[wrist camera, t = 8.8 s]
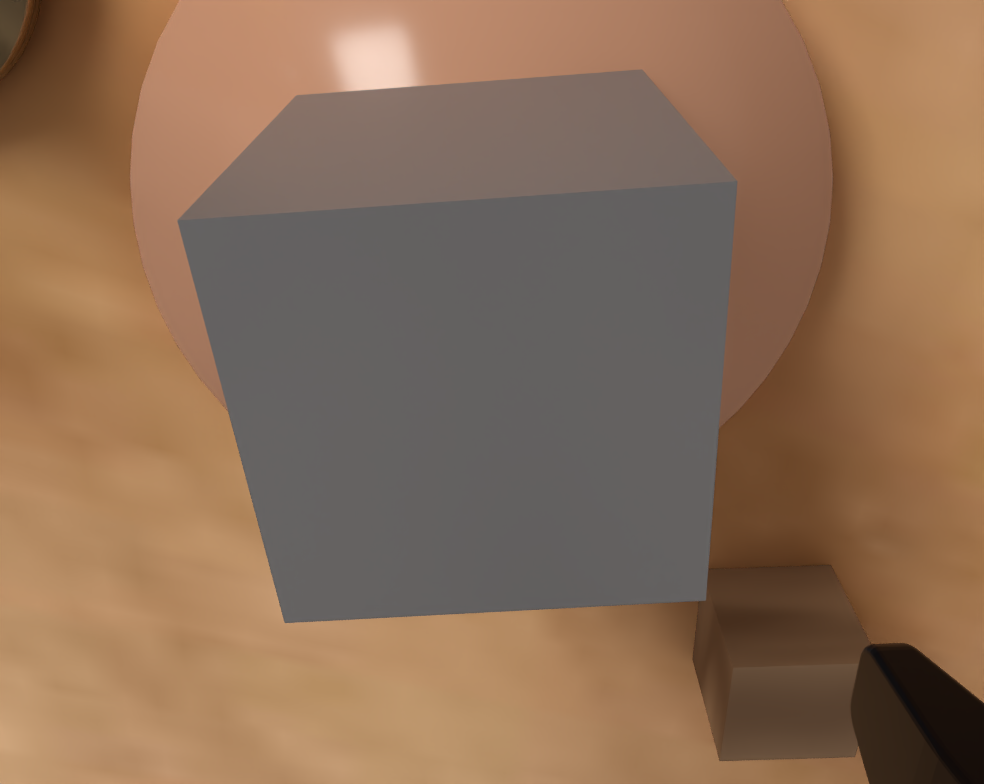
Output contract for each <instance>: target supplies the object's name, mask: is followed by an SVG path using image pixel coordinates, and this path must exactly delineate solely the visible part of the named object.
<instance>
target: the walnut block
mask: <svg viewBox="0 0 984 784" xmlns="http://www.w3.org/2000/svg"><path fill="white" fill-rule="evenodd" d="M868 645H871V643H870V641H869V639H868V637H867V635H866V633H865V632H864V630H863V628H862V626H861V624H860V622H859V620H858V618H857V616H856V614H855V612H854V610H853V608H852V606H851V604H850V602H849V600H848V598H847V596H846V594H845V592H844V590H843V588H842V586H841V584H840V582H839V580H838V578H837V576H836V574H835V572H834V570H833V568H832V566H831V565H817V566H786V567H756V568H725V569H708V579H707V592H706V601H699V605H698V614H697V623H696V632H695V642H694V651H693V662H694V666H695V670H696V674H697V678H698V681H699V685H700V689H701V693H702V696H703V700H704V704H705V708H706V712H707V715H708V719H709V723H710V727H711V730H712V734H713V738H714V742H715V745H716V749H717V753H718V757H719V761H741V760H774V759H807V758H840V757H855V755H856V751H857V747H858V743H857V739H856V736H855V732H854V729H853V725H852V720H851V711H850V703H851V697H852V692H853V688H854V683H855V678H856V674H857V669H858V665H859V660H860V656H861V653H862V651H863V649H864V648H865V647H866V646H868Z"/></svg>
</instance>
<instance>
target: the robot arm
mask: <svg viewBox="0 0 984 784" xmlns="http://www.w3.org/2000/svg"><path fill="white" fill-rule="evenodd" d="M850 711H851V720H852V725H853V729H854V732H855V736H856V739H857V743H858V746H859V750H860V753H861V757H862V760H863V764H864V767H865V770H866V774H867V777H868V781H869V784H984V703H983V702H982V701H981V700H979V699H978V698H977V697H976V696H974V695H973V694H972V693H971V692H970V691H968V690H967V689H966V688H965V687H963V686H962V685H961V684H960V683H958V682H957V681H956V680H955V679H953V678H952V677H951V676H950V675H948V674H947V673H946V672H945V671H944V670H942V669H941V668H940V667H939V666H937V665H936V664H935V663H934V662H932V661H931V660H930V659H929V658H927V657H926V656H925V655H924V654H922V653H921V652H920V651H919V650H917V649H916V648H915V647H913V646H911V645H909V644H905V643H889V644H871V645H868V646H866V647H865V648H864V649H863V651H862V653H861V656H860V660H859V665H858V669H857V674H856V678H855V683H854V688H853V692H852V697H851V703H850Z"/></svg>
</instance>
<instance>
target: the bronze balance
mask: <svg viewBox="0 0 984 784" xmlns="http://www.w3.org/2000/svg"><path fill="white" fill-rule="evenodd" d="M40 4H41V0H0V80H1V79H2V78H3V77H4V76H5V75H6V74H7V73H8V72H9V71H10V70H11V69H12V67H13V66H14V64H15V63H16V62H17V60H18V59H19V57H20V56H21V55H22V53H23V51H24V49H25V47H26V45H27V43H28V41H29V39H30V37H31V35H32V33H33V30H34V26H35V23H36V20H37V16H38V13H39V10H40Z"/></svg>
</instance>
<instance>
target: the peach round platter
mask: <svg viewBox="0 0 984 784" xmlns="http://www.w3.org/2000/svg"><path fill="white" fill-rule="evenodd" d="M641 69H642V70H643V71H644V72H645V73H646V75H647V76H648V77H649V78H650V79H651V80H652V82H653V83H654V84H655V85H656V86H657V87H658V89H659V90H660V91H661V92H662V93H663V94H664V96H665V97H666V98H667V99H668V100H669V102H670V103H671V104H672V105H673V106H674V107H675V109H676V110H677V111H678V112H679V113H680V114H681V116H682V117H683V118H684V119H685V120H686V121H687V123H688V124H689V125H690V126H691V127H692V128H693V130H694V131H695V132H696V133H697V134H698V136H699V137H700V138H701V139H702V140H703V141H704V143H705V144H706V145H707V146H708V147H709V148H710V150H711V151H712V152H713V153H714V154H715V155H716V157H717V158H718V159H719V160H720V161H721V162H722V164H723V165H724V166H725V167H726V168H727V170H728V171H729V172H730V173H731V174H732V175H733V177H734V178H735V179H736V180H737V181H738V182H737V195H736V208H735V221H734V235H733V248H732V261H731V274H730V288H729V301H728V314H727V327H726V341H725V354H724V367H723V380H722V394H721V407H720V420H719V428H720V427H721V426H722V425H723V424H724V423H725V422H726V421H727V420H728V419H729V418H731V417H732V416H733V415H734V414H735V413H736V412H737V411H738V410H739V409H740V408H741V407H742V406H743V405H744V403H745V402H746V401H747V400H748V399H749V398H750V396H751V395H752V394H753V393H754V392H755V390H756V389H757V388H758V387H759V386H760V385H761V383H762V382H763V381H764V380H765V379H766V377H767V376H768V374H769V373H770V371H771V370H772V368H773V367H774V365H775V364H776V362H777V361H778V359H779V358H780V356H781V355H782V353H783V352H784V350H785V349H786V347H787V346H788V344H789V342H790V340H791V338H792V336H793V334H794V332H795V330H796V328H797V326H798V324H799V322H800V320H801V318H802V316H803V314H804V312H805V310H806V308H807V306H808V303H809V300H810V297H811V294H812V291H813V288H814V285H815V283H816V280H817V277H818V274H819V271H820V268H821V265H822V260H823V255H824V250H825V245H826V240H827V236H828V231H829V226H830V217H831V202H832V188H833V169H832V154H831V140H830V130H829V125H828V121H827V116H826V111H825V106H824V102H823V97H822V92H821V88H820V84H819V82H818V79H817V76H816V73H815V71H814V68H813V65H812V63H811V60H810V57H809V54H808V52H807V49H806V46H805V44H804V41H803V39H802V37H801V35H800V33H799V31H798V30H797V28H796V26H795V24H794V22H793V21H792V19H791V17H790V15H789V13H788V11H787V10H786V8H785V6H784V4H783V2H782V0H179V2H178V4H177V6H176V8H175V10H174V12H173V13H172V15H171V17H170V19H169V21H168V23H167V25H166V27H165V29H164V30H163V32H162V34H161V36H160V38H159V40H158V42H157V45H156V48H155V50H154V53H153V56H152V59H151V62H150V65H149V67H148V70H147V73H146V76H145V79H144V82H143V85H142V87H141V92H140V97H139V102H138V108H137V113H136V118H135V123H134V128H133V133H132V150H131V169H130V187H131V199H132V210H133V222H134V228H135V233H136V237H137V242H138V246H139V251H140V255H141V260H142V264H143V268H144V271H145V274H146V276H147V279H148V282H149V285H150V287H151V290H152V293H153V296H154V298H155V301H156V304H157V307H158V309H159V311H160V313H161V315H162V317H163V319H164V321H165V323H166V325H167V327H168V328H169V330H170V332H171V334H172V336H173V338H174V340H175V342H176V344H177V346H178V347H179V349H180V350H181V352H182V353H183V355H184V356H185V358H186V359H187V361H188V362H189V363H190V365H191V366H192V368H193V369H194V371H195V372H196V374H197V375H198V377H199V378H200V380H201V381H202V382H203V383H204V384H205V385H206V386H207V388H208V389H209V390H210V391H211V392H212V393H213V395H214V396H215V397H216V398H217V399H218V400H219V401H220V403H221V404H222V405H223V406H224V407H225V408H226V410H228V409H227V405H226V401H225V397H224V394H223V390H222V386H221V382H220V379H219V375H218V371H217V368H216V364H215V360H214V356H213V353H212V349H211V345H210V341H209V338H208V334H207V330H206V326H205V323H204V319H203V315H202V311H201V308H200V304H199V300H198V296H197V293H196V289H195V285H194V281H193V278H192V274H191V270H190V266H189V263H188V259H187V255H186V252H185V248H184V244H183V240H182V237H181V233H180V229H179V225H178V222H177V220H178V219H179V218H180V217H181V216H182V215H183V214H184V213H185V212H186V211H187V210H188V209H189V208H190V206H191V205H192V204H193V203H194V202H195V201H196V200H197V199H198V198H199V197H200V196H201V195H202V194H203V193H204V192H205V191H206V190H207V189H208V188H209V187H210V185H211V184H212V183H213V182H214V181H215V180H216V179H217V178H218V177H219V176H220V175H221V174H222V173H223V172H224V171H225V170H226V169H227V168H228V167H229V166H230V164H231V163H232V162H233V161H234V160H235V159H236V158H237V157H238V156H239V155H240V154H241V153H242V152H243V151H244V150H245V149H246V148H247V147H248V146H249V145H250V143H251V142H252V141H253V140H254V139H255V138H256V137H257V136H258V135H259V134H260V133H261V132H262V131H263V130H264V129H265V128H266V127H267V126H268V125H269V124H270V122H271V121H272V120H273V119H274V118H275V117H276V116H277V115H278V114H279V113H280V112H281V111H282V110H283V109H284V108H285V107H286V106H287V105H288V104H289V103H290V101H291V100H292V99H293V98H294V97H295V96H296V95H306V94H319V93H333V92H346V91H360V90H373V89H386V88H400V87H413V86H426V85H440V84H453V83H467V82H480V81H493V80H507V79H520V78H534V77H547V76H560V75H574V74H587V73H601V72H614V71H627V70H641Z"/></svg>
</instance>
